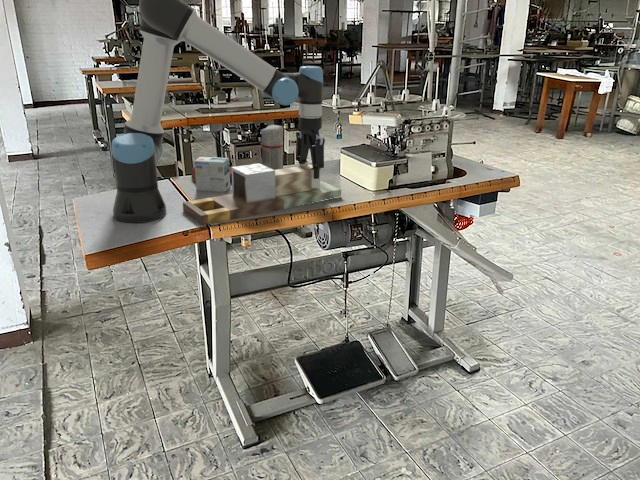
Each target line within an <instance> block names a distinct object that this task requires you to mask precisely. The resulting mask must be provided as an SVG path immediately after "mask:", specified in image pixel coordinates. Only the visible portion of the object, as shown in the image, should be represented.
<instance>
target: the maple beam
mask: <svg viewBox="0 0 640 480" xmlns="http://www.w3.org/2000/svg"><path fill="white" fill-rule="evenodd" d="M311 168H313V166H312V164H308V165H304V166H300V165H298V166H292V167H286V168H285V167H283V169H277V170H275V197H276V196H282V195H287V194H293V193H298V192H304V191H309V190H315V189H320V181H321V169H320V170H319V187H317V188H311Z"/></svg>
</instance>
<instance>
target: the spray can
mask: <svg viewBox="0 0 640 480" xmlns="http://www.w3.org/2000/svg"><path fill="white" fill-rule="evenodd" d="M261 159H262V160H261V164H262V165H264V166H266V167H269V168H271V169H273V170H277V169H284V127H283V125H278V124H269V125H267V126H266V127H265V128H262V129H261Z"/></svg>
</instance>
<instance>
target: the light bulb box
mask: <svg viewBox="0 0 640 480" xmlns="http://www.w3.org/2000/svg"><path fill="white" fill-rule="evenodd" d="M229 158H230V157H217V156H216V157H213V156H199V157H197V159H195V160H194V167H195V176H196V182H195V187H196V189H195V190H196V191H203V192H205V191H206V192H207V191H208V192H219V193H221V192H222V193H226V192H227V191H228V190H229V189H230V187H231V178H230V171H229V167H230V159H229Z"/></svg>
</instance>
